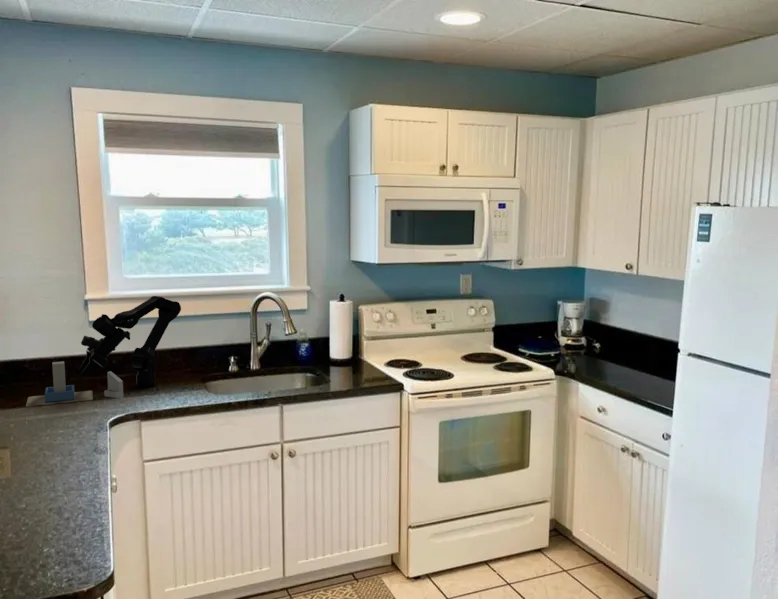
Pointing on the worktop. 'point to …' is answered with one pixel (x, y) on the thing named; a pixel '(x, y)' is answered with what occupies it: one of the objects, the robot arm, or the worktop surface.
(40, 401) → the board
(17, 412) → the worktop surface
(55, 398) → the box
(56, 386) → the connector column
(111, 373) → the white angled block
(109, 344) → the robot arm
